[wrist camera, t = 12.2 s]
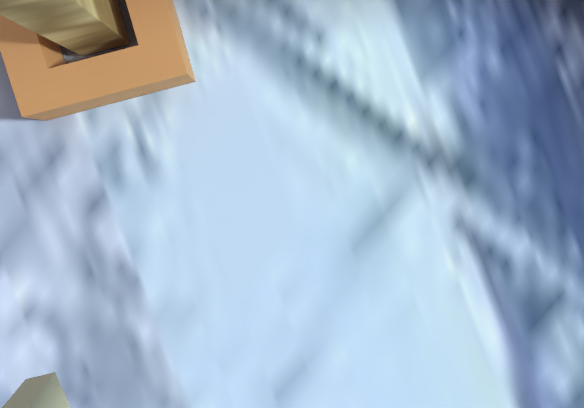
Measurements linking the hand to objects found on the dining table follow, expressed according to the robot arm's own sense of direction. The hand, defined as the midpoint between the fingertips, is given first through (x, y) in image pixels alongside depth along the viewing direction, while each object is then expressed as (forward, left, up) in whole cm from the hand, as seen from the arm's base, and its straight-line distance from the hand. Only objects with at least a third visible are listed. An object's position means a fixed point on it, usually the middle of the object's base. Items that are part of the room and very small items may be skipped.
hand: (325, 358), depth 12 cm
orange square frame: (+9, -17, -25) cm, 31 cm away
